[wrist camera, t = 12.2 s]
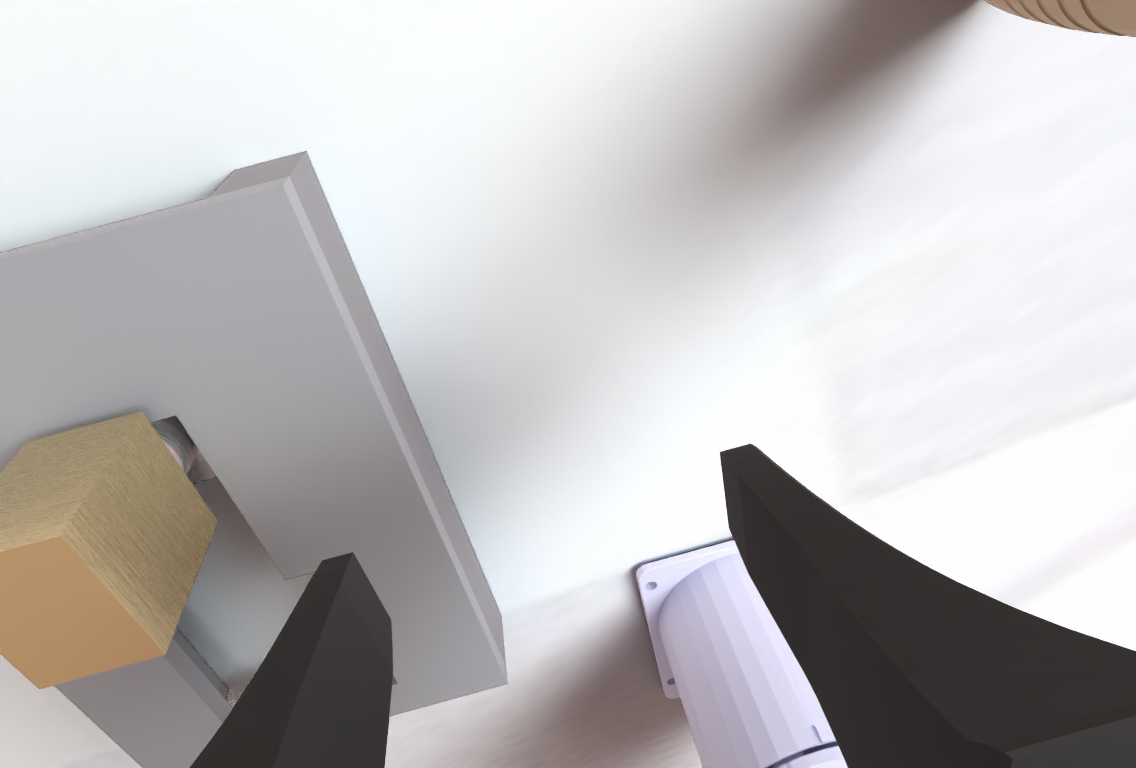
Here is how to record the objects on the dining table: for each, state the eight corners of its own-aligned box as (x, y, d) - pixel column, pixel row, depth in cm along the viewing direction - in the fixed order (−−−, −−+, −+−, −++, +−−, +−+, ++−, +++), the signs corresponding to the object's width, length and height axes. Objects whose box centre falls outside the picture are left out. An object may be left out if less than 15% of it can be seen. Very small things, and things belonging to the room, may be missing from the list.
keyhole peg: (285, 442, 23) (217, 656, 16) (142, 480, 23) (10, 712, 16) (213, 314, 21) (94, 504, 14) (51, 357, 21) (-155, 572, 14)
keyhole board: (501, 615, 30) (507, 683, 27) (183, 702, 29) (156, 780, 27) (306, 151, 19) (282, 185, 16) (-202, 285, 18) (-315, 343, 16)
